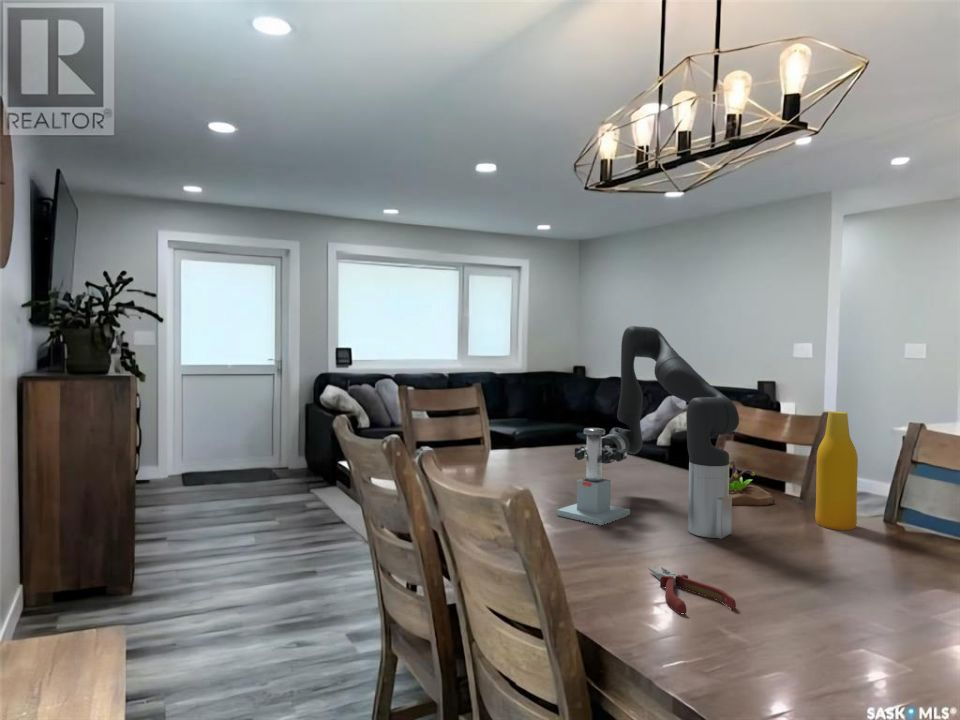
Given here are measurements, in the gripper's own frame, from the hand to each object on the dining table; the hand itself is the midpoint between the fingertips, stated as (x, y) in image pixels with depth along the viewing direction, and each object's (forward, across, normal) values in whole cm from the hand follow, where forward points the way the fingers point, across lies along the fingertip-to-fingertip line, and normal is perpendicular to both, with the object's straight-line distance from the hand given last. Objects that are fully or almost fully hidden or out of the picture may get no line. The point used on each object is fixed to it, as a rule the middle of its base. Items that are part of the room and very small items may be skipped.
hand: (591, 457), depth 168 cm
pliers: (+40, +32, +17) cm, 54 cm away
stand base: (-2, 0, +16) cm, 16 cm away
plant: (-43, +31, +17) cm, 55 cm away
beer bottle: (-23, +57, +16) cm, 64 cm away
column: (-2, 0, +14) cm, 14 cm away
